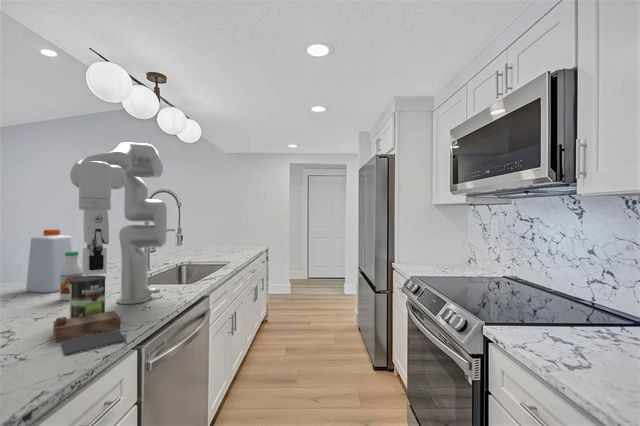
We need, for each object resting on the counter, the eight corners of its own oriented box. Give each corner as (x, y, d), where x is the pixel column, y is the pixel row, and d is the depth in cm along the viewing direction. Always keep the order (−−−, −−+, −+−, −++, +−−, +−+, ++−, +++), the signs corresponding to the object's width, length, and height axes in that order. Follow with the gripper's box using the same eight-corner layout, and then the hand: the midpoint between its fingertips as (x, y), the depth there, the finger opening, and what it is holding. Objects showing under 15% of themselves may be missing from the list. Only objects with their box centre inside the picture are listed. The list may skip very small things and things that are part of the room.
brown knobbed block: (114, 322, 109) (114, 305, 109) (120, 329, 104) (120, 311, 104) (53, 334, 98) (53, 316, 98) (55, 342, 93) (56, 323, 93)
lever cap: (103, 270, 96) (103, 244, 96) (106, 272, 93) (106, 245, 92) (82, 272, 93) (82, 245, 93) (85, 275, 89) (85, 246, 89)
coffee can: (110, 317, 115) (111, 277, 115) (77, 325, 106) (77, 282, 106) (96, 311, 120) (97, 274, 120) (63, 319, 112) (64, 278, 112)
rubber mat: (118, 332, 101) (118, 330, 101) (126, 341, 94) (126, 339, 94) (61, 344, 91) (61, 342, 91) (65, 355, 85) (65, 353, 85)
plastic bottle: (47, 294, 143) (47, 231, 143) (21, 291, 146) (21, 230, 146) (79, 286, 158) (80, 229, 157) (55, 284, 161) (55, 228, 161)
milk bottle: (55, 299, 135) (56, 251, 135) (75, 295, 142) (75, 249, 142) (67, 301, 132) (67, 253, 132) (87, 297, 139) (87, 250, 139)
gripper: (117, 205, 89) (116, 271, 89) (104, 205, 101) (104, 263, 101) (83, 204, 84) (82, 274, 84) (74, 204, 96) (74, 265, 96)
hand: (94, 267), depth 93 cm, fingers closed on lever cap, 5 cm apart
